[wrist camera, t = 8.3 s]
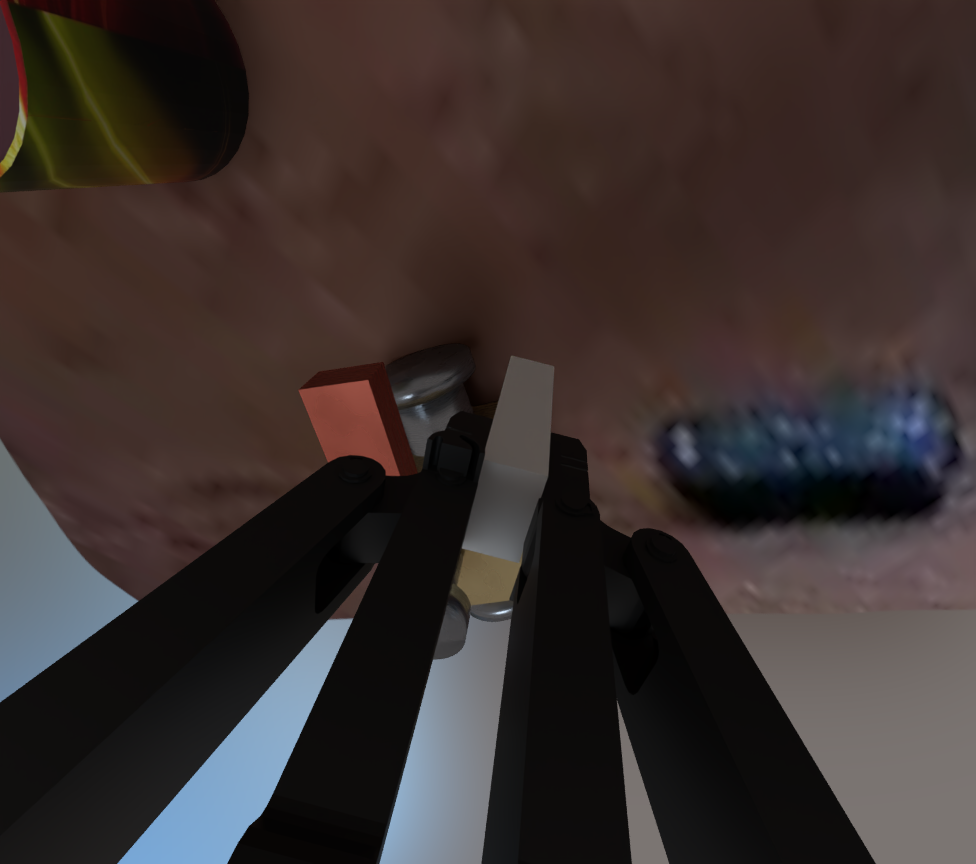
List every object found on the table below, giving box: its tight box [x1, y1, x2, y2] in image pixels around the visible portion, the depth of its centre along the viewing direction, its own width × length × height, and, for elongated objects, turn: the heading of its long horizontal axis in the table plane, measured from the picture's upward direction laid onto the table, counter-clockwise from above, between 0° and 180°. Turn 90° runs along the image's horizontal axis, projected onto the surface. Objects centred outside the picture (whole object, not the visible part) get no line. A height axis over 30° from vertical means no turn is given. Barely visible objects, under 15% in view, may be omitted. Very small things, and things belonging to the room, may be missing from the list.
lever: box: [299, 362, 471, 659], centre depth 21 cm, size 14×4×5 cm, turn 11°
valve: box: [385, 344, 523, 622], centre depth 30 cm, size 17×8×9 cm, turn 18°
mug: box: [0, 0, 249, 192], centre depth 19 cm, size 10×14×12 cm
